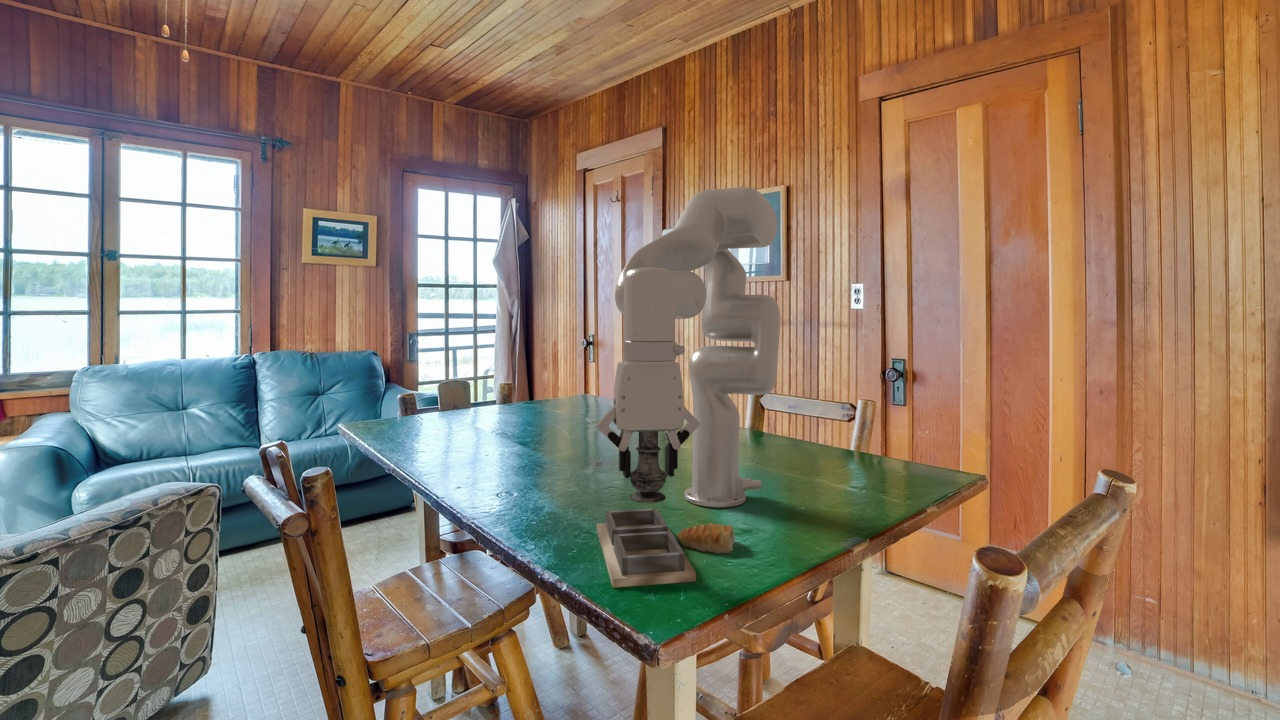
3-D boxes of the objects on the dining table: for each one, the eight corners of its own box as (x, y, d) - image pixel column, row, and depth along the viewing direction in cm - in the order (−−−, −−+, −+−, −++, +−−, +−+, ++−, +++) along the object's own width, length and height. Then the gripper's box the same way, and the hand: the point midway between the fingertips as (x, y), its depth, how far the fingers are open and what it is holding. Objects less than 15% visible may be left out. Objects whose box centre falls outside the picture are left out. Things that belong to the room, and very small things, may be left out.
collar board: (663, 526, 106) (663, 506, 105) (696, 581, 84) (696, 556, 84) (596, 530, 103) (596, 509, 103) (612, 587, 82) (612, 561, 82)
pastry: (674, 551, 95) (674, 528, 95) (680, 536, 102) (680, 515, 101) (733, 556, 93) (733, 533, 93) (735, 541, 100) (735, 519, 99)
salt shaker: (664, 505, 84) (665, 421, 83) (624, 502, 85) (624, 420, 84) (670, 493, 90) (671, 415, 89) (632, 490, 91) (633, 413, 90)
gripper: (699, 351, 91) (697, 466, 92) (587, 352, 88) (587, 470, 89) (713, 355, 84) (711, 479, 85) (592, 355, 81) (592, 484, 82)
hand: (648, 473), depth 87 cm, fingers closed on salt shaker, 5 cm apart
